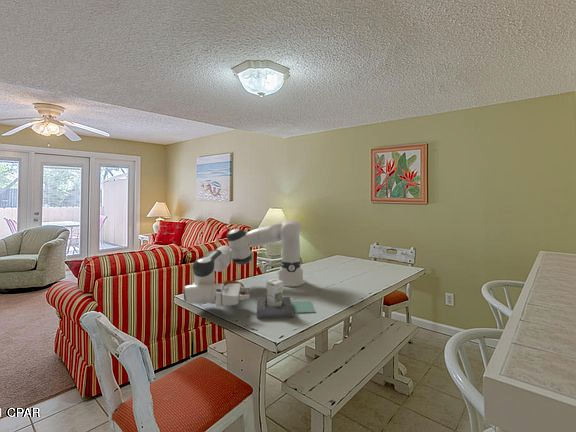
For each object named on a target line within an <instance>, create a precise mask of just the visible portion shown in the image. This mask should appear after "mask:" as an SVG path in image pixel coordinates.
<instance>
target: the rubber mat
mask: <svg viewBox="0 0 576 432" xmlns="http://www.w3.org/2000/svg"><path fill="white" fill-rule="evenodd" d="M291 304H292V307H293V314H312V313H313V314H316V310H315V308H314V306H313V303H312V302H311V301H310V300H307V301H306V300H305V301H301V300H300V301H299V300H297V301H291Z"/></svg>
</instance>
